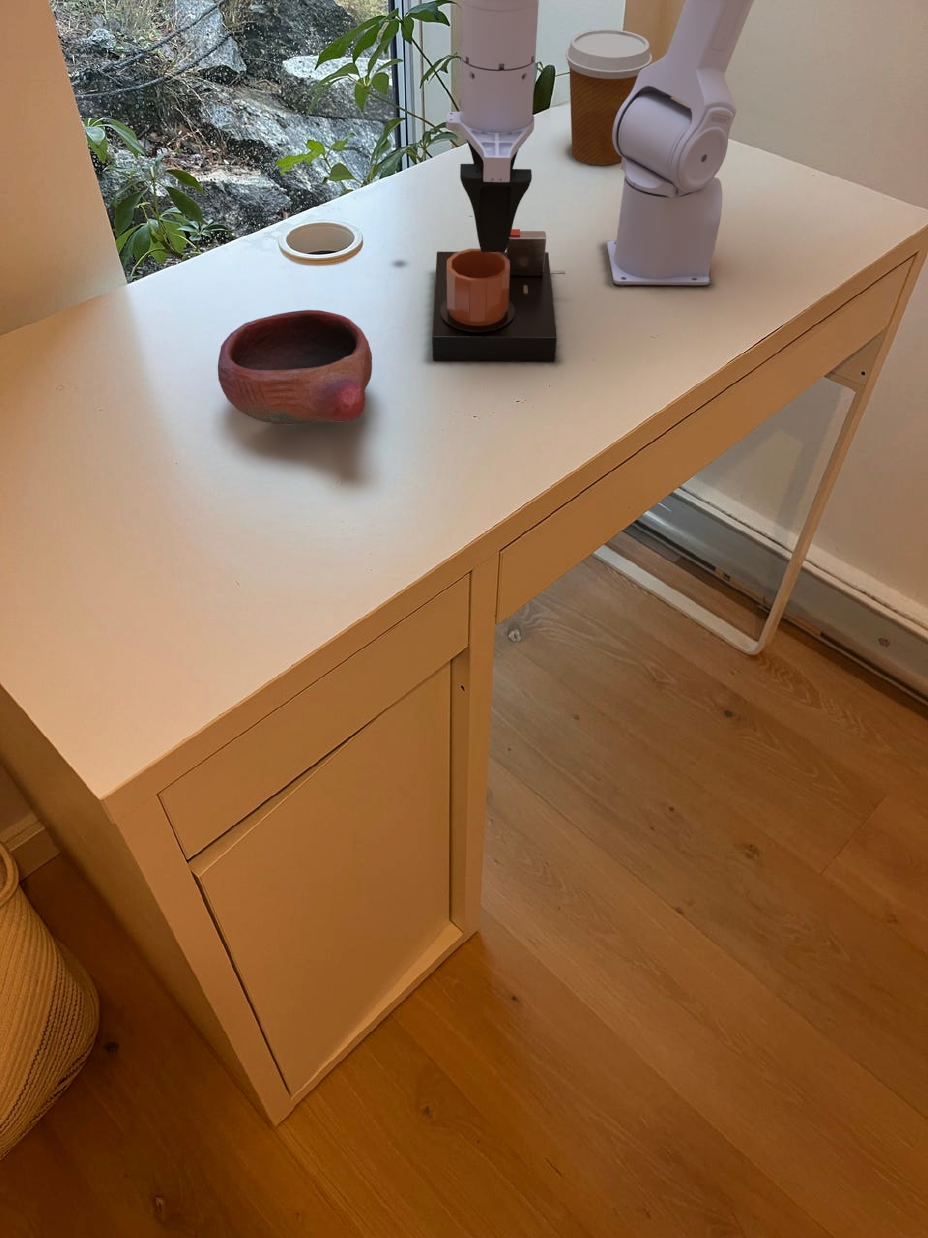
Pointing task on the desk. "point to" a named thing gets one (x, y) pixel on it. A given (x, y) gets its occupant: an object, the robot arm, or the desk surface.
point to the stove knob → (526, 252)
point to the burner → (477, 329)
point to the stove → (516, 341)
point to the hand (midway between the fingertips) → (492, 227)
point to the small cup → (477, 286)
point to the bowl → (296, 368)
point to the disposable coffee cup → (601, 88)
